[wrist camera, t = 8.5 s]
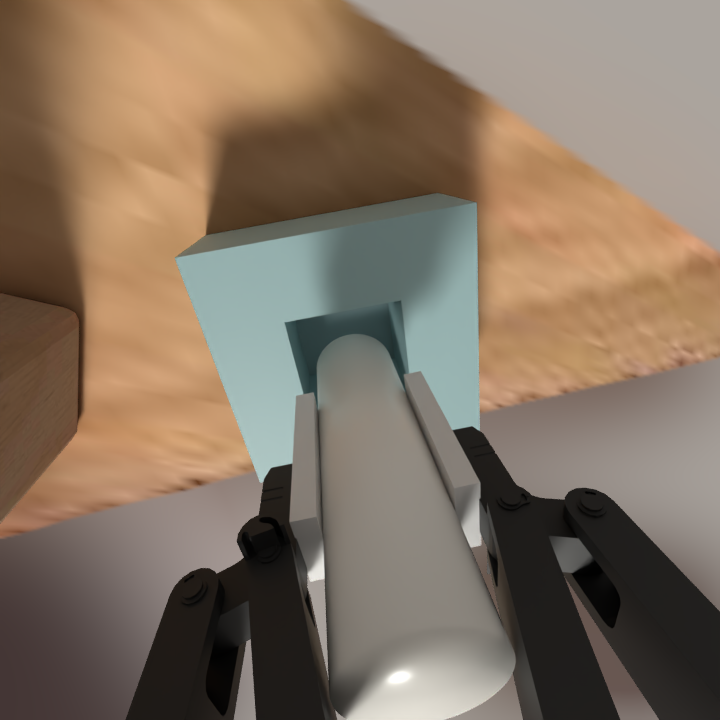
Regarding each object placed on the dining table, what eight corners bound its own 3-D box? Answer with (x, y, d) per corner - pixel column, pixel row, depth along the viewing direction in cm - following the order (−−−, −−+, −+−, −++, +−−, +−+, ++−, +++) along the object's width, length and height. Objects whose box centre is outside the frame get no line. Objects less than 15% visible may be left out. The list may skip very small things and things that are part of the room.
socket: (205, 235, 23) (174, 257, 17) (438, 192, 23) (476, 202, 18) (268, 424, 29) (260, 482, 24) (449, 388, 30) (479, 437, 24)
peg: (309, 342, 20) (310, 653, 7) (386, 327, 20) (519, 608, 7) (324, 406, 21) (347, 742, 9) (395, 392, 22) (512, 704, 9)
